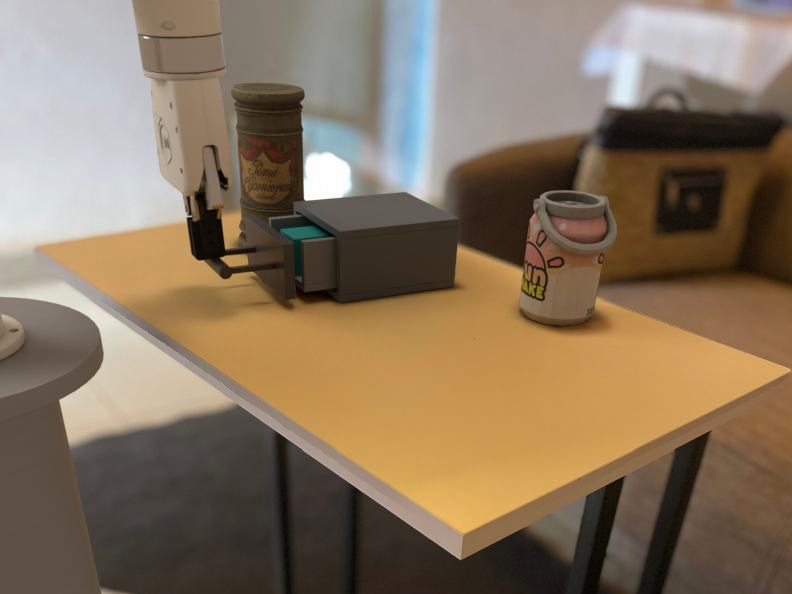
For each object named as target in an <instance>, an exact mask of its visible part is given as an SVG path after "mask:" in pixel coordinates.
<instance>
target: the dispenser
mask: <svg viewBox="0 0 792 594" xmlns="http://www.w3.org/2000/svg"><path fill="white" fill-rule="evenodd" d="M293 204H294V215H300V214H302V215H304V216H305V217H307V218H308V219H310V220H311V221H313V222H315V223H316V224H318V225H319V226H321V227H322V228H324V229H325V230H327V231H328V232H330V233H331V234H333V235H334V236H336V237H337V288H333V289H325V290H323V291H324V292H325V293H327V294H328V295H329V296H331V297H332V298H333V299H335V300H336V301H337V302H338V303H349V302H355V301H362V300H368V299H376V298H382V297H390V296H397V295H403V294H404V295H405V294H410V293H419V292H425V291H431V290H432V291H433V290H439V289H444V288H452V287H455V282H456V279H455V278H456V269H457V259H458V258H457V257H458V246H459V232H460V231H459V230H460V222H461V221H460V220H461V219H460V218H459V217H457V216H455V215H453V214H451V213H449V212H447V211H445V210H443V209H441V208H439V207H437V206H434V205H433V204H432V203H429V202H426V201H425V200H423V199H421V198H419V197H416V196H415V195H414V194H413V195H412V193H408V192H407V191H400V192H389V193H388V192H387V193H378V194H366V195H355V196H344V197H331V198H320V199H309V200H305V201H296V202H293Z"/></svg>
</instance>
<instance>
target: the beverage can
mask: <svg viewBox="0 0 792 594" xmlns="http://www.w3.org/2000/svg"><path fill="white" fill-rule="evenodd" d="M608 198H609V197H607V196H606V195H596V194H594V193H590V192H584V191H579V190H578V191H577V190H565V189H564V190H550V191H546V192H544V193H542V194H540V195H539V198H535V199H534V200H533V205H532V206H533V211H534V213H533V215H532V216H531V217H530V219H529V222H528V230H527V237H526V245H525V246H526V247H525V254H524V262H523V271H522V277H521V286H520V293H519V301H518V302H519V303H518V304H519V305H518V306H519V308H520V310H521V311H522V312H523V314H524V315H525V316H526V317H527V318H529V319H530V320H532V321H535V322H537V323H541V324H545V325H550V326H559V327H560V326H562V327H563V326H566V327H567V326H576V325H580V324H582V323H584V322H586V321H587V320H588V319H590V317H591V316H592V315H593V314H594V312H595V311H596V310H595V309H596V305H597V298H598V292H599V286H600V282H601V275H602V270H603V265H604V259H605V253H606V251H607V250H609V249H611V248H612V246H613V245H614V243H615V241H616V240H617V237H618V236H617V235H618V234H617V233H618V232H617V231H618V225H617V222H616V219H615V217H614V214H613V213H612V210H611V208H610V201H609V199H608Z"/></svg>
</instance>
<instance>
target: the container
mask: <svg viewBox="0 0 792 594" xmlns="http://www.w3.org/2000/svg"><path fill="white" fill-rule="evenodd" d="M230 95H231V97H232V98H233V99H234V101H235V102H234V103H233V107H234V109H235V112H236V125H235V130H236V136H237V157H238V168H239V187H240V189H239V190H240V198H239V205H240V217H241V219H240V221H239V224H238V229H239V230H240V233H239V234H238V244H239V246H240V247H247V238H246V223H245V216H251V215H256V216H257V217H258V218H260V219H261V220H262V221H264V222H265V223H266V224H268V225H269V217H279V216H289V215H294V204H293V202H296V201H306V199H305V183H304V181H305V180H304V177H305V176H304V140H303V139H304V138H303V137H304V135H303V133H304V128H303V122H302V121H303V119H302V112H303V108H304V106H303V104H301V102H303V101H304V99H305V97H306V94H305V90H304V88H303V87H301V86H297V85H293V84H285V83H278V82H277V83H274V82H243V83H237V84H234V85H232V86H231V89H230Z"/></svg>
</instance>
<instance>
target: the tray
mask: <svg viewBox="0 0 792 594" xmlns="http://www.w3.org/2000/svg"><path fill="white" fill-rule="evenodd" d="M245 223H246V238H247V247H231V248H225V252H226V254H225V256H224V257H228V256H237V255H246V254H247V264H243V265H235V266H229V265H228V264H227V263H226V262H225V261H224V260H223V259H222V257H221V258H214V259H208V260H202V261H204V263H205V264H206V265H207V266H208V267H209V268H210V269H212V270H213V271H214V272H215V273H216V274H217V275H218V277H220V279H223V280H229V279H230V278H231V277H232V276H233V275H237V274H243V273H254V274H255V275H256V277H258V278H259V279H260V280H262V281H263V282H264V283H265V284H266V285H268V286H269V287H270V288H271V289H272V290H273V291H274V292H275V293H277V294H278V296H280V297H281V298H282V299H284V301H290V300H291V301H292V300H296V298H297V295H296V291H297V290H296V286H297V287H298V288H299V289H300V290H301V291H302V292H304V293H311V292H318V291H324V290H325V289H333V288H337V237H336V236H334V235H333V234H331V233H330V232H328V231H327V230H325V229H324V228H322V227H321V226H319V225H318V224H316V223H315V222H313V221H311V220H310V219H308V218H307V217H305V216H304V215H302V214H300V215H289V216H279V217H269V225H268V224H266V223H265V222H264V221H262V220H261V219H260V218H258V217H257V216H256V215H251V216H245ZM307 226H314V227H316V228H317V229H319V230H320V231H322V232H323V233H325V234H326V235H328V237H326V238H317V239H308V240H301V271H302V275H300V276H295V261H294V243H292V242H291V241H290V240H288V239H287V238H286V237H284V236H283V235H282V234H280V229H287V228H297V227H307Z"/></svg>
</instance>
